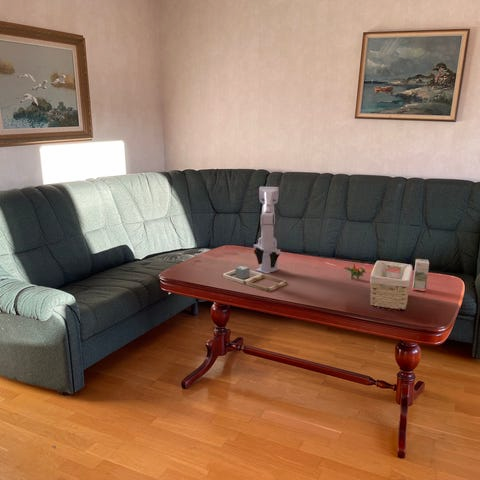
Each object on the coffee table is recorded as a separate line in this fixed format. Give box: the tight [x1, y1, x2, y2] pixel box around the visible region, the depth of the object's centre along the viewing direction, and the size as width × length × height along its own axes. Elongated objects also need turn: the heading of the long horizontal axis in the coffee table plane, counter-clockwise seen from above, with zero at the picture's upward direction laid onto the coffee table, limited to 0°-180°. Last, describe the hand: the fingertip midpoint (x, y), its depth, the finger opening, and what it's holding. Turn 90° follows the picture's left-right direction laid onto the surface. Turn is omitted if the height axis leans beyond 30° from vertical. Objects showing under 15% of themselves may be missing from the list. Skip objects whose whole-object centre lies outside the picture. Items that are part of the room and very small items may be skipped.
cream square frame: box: [221, 269, 263, 285], centre depth 231 cm, size 15×15×2 cm
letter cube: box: [234, 265, 250, 280], centre depth 230 cm, size 5×5×5 cm
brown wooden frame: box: [244, 273, 288, 293], centre depth 221 cm, size 15×15×2 cm
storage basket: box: [369, 260, 413, 310], centre depth 202 cm, size 24×16×15 cm
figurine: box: [343, 263, 367, 280], centre depth 229 cm, size 3×12×8 cm, turn 55°
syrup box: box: [412, 258, 430, 290], centre depth 215 cm, size 6×6×14 cm
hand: (266, 265), depth 219 cm, fingers open, 7 cm apart
